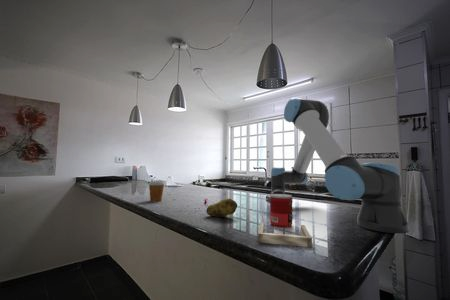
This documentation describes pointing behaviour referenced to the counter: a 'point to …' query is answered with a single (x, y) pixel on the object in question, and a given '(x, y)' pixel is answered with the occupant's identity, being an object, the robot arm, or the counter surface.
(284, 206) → the canned food
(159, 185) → the disposable coffee cup
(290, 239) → the shallow beige tray
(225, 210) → the potato
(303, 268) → the counter surface
